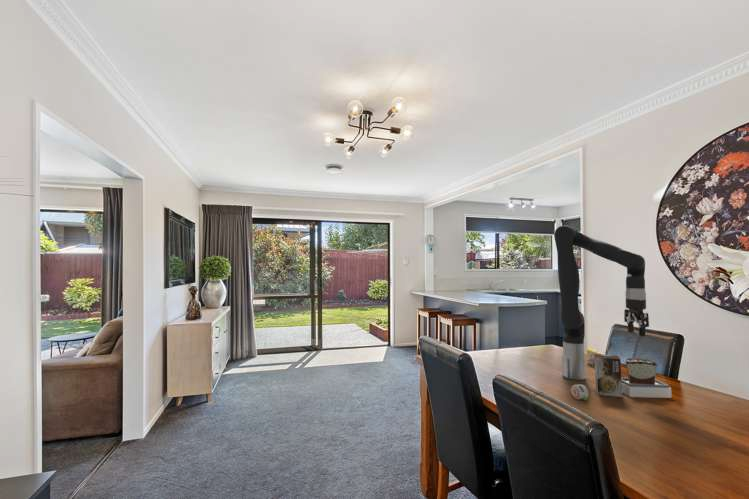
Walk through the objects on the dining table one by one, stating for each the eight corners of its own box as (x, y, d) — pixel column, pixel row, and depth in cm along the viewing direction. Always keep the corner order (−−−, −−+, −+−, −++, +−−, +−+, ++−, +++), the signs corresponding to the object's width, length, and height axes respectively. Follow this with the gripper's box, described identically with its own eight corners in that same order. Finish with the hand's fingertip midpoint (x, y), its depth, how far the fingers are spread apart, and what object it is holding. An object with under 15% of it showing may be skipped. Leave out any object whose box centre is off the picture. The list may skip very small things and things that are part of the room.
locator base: (630, 396, 154) (629, 384, 154) (615, 388, 164) (615, 377, 165) (671, 397, 152) (671, 385, 152) (654, 389, 163) (653, 377, 163)
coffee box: (619, 392, 159) (618, 355, 159) (622, 397, 153) (621, 358, 154) (595, 390, 162) (594, 353, 163) (597, 394, 157) (595, 356, 157)
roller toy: (580, 402, 149) (579, 387, 149) (569, 396, 155) (568, 382, 155) (589, 401, 149) (589, 386, 150) (578, 395, 156) (578, 382, 156)
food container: (652, 381, 162) (651, 358, 162) (658, 385, 156) (658, 361, 156) (620, 379, 165) (619, 356, 165) (625, 383, 159) (625, 360, 160)
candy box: (586, 363, 206) (586, 349, 206) (590, 363, 206) (589, 348, 206) (608, 372, 190) (607, 356, 190) (612, 372, 190) (611, 355, 190)
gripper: (618, 296, 173) (618, 331, 172) (636, 299, 159) (636, 337, 158) (635, 296, 172) (635, 331, 172) (654, 299, 158) (655, 337, 158)
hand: (636, 334), depth 165 cm, fingers open, 8 cm apart
